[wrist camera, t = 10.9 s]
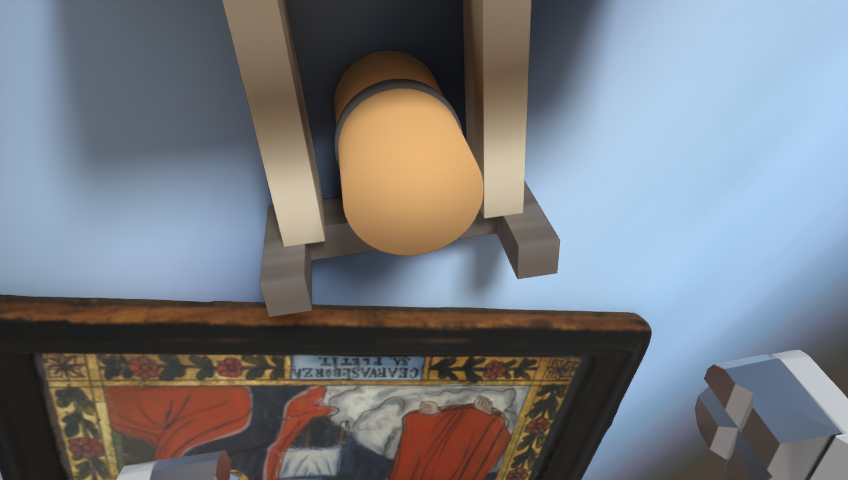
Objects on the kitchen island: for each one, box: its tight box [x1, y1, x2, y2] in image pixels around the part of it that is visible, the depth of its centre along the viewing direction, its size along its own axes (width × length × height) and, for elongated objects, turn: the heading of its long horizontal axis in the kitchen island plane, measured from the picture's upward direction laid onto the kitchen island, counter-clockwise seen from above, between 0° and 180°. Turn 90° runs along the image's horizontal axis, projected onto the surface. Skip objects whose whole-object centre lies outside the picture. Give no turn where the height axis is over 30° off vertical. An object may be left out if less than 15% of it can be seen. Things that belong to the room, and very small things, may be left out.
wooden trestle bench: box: [222, 0, 560, 317], centre depth 18 cm, size 14×18×9 cm
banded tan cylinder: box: [334, 50, 484, 255], centre depth 20 cm, size 4×4×7 cm
